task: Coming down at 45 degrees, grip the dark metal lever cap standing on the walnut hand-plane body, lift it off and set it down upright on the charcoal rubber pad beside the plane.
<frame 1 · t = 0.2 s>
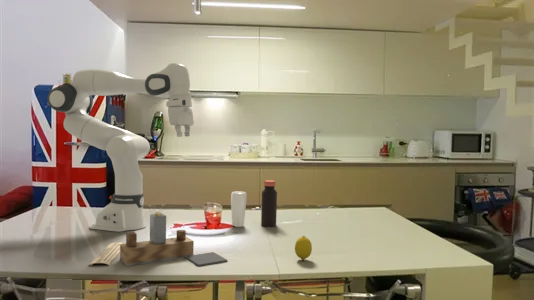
hand: (183, 136, 175), 39 cm above the table, tool pointing down, fingers open, 8 cm apart
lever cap: (157, 242, 137), point 5 cm above the table, touching plane body
newspaper: (107, 257, 140), on the table
pad: (206, 259, 137), on the table
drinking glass: (238, 226, 186), on the table
bottle: (268, 225, 190), on the table
lemon: (302, 260, 139), on the table
plane body: (157, 257, 138), on the table
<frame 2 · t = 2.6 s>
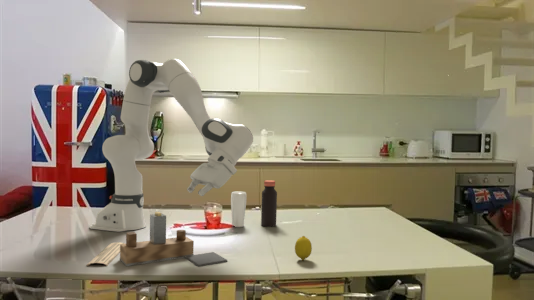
hand: (194, 193, 144), 20 cm above the table, tool tilted 45°, fingers open, 8 cm apart
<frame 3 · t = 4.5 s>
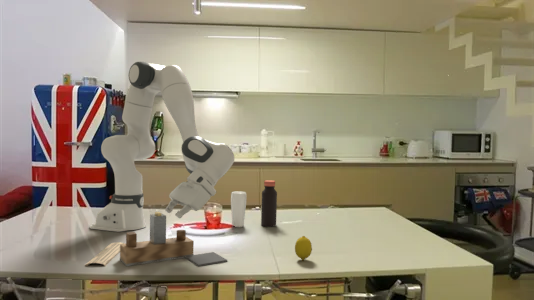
hand: (171, 214, 140), 14 cm above the table, tool tilted 45°, fingers open, 8 cm apart
nothing on the table moved.
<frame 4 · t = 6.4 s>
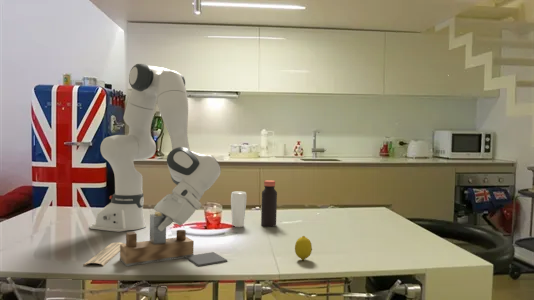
hand: (156, 227, 137), 10 cm above the table, tool tilted 45°, fingers closed on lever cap, 4 cm apart
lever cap: (157, 242, 137), point 5 cm above the table, touching gripper, plane body
everything else where it was.
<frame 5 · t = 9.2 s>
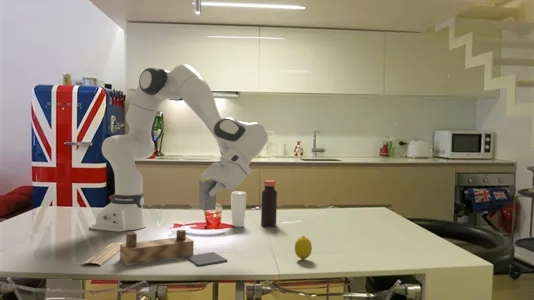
hand: (205, 194, 136), 21 cm above the table, tool tilted 45°, fingers closed on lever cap, 4 cm apart
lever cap: (207, 209, 136), point 17 cm above the table, touching gripper
when the fingers open (7 cm above the table, at t = 12.3 s): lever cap drops 1 cm, resting on pad.
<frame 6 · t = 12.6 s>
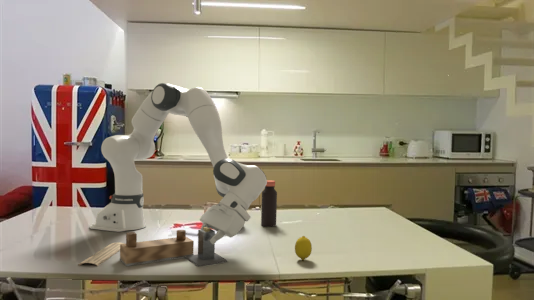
hand: (204, 239, 136), 7 cm above the table, tool tilted 45°, fingers open, 7 cm apart
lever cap: (206, 257, 137), point 1 cm above the table, touching pad
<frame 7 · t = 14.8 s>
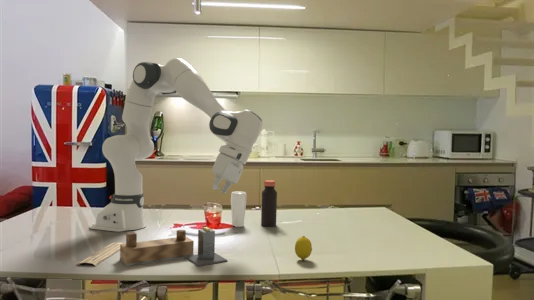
hand: (218, 191, 145), 21 cm above the table, tool tilted 25°, fingers open, 8 cm apart
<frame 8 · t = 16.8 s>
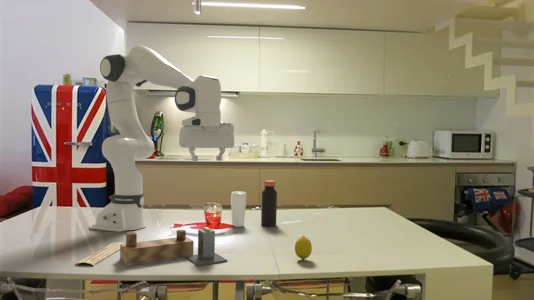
hand: (207, 160, 150), 31 cm above the table, tool pointing down, fingers open, 8 cm apart
at the end: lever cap inside the target area on the pad (0.1 cm from its centre), point 0.6 cm above the pad's base; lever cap tilted 0°; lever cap touching pad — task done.
